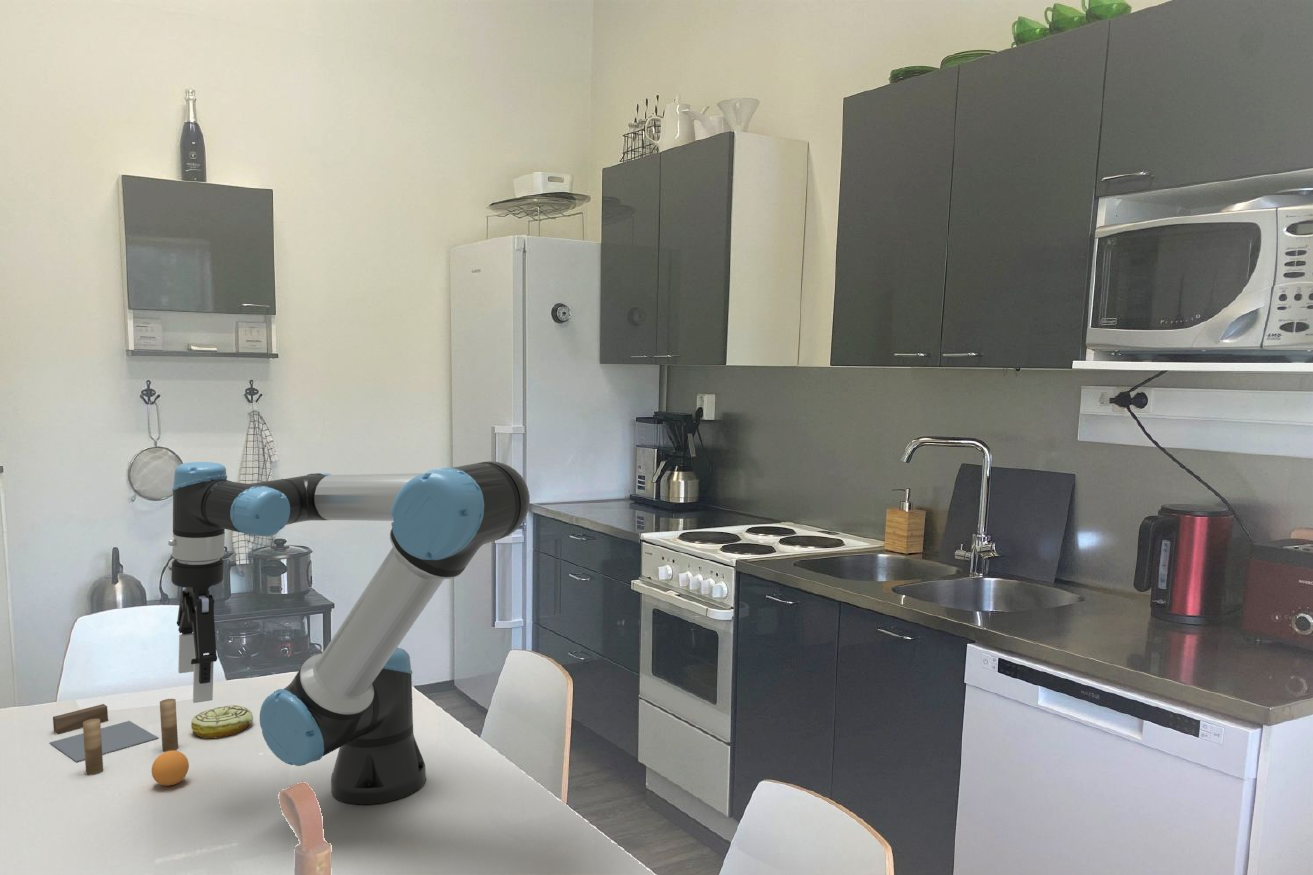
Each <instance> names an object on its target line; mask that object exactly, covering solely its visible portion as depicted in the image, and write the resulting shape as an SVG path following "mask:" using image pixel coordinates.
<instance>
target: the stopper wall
mask: <svg viewBox="0 0 1313 875" xmlns="http://www.w3.org/2000/svg"><path fill="white" fill-rule="evenodd" d="M89 719H100V724H102V723H104V722H105V723H106V722H109V712H108V705H107V704H104V703H102V704H98V705H94V706H91V707H86V708H82V709H79V710H75V711H72V712H71V711H70V712H67V713H64V714H60V715H59V714H58V715H55V716H52V724H53V725H52V726H53V732H54V733H55V734H56V735H59V734H60V735H61V734H64V733H68V732H71V731H75V730H78V729H83V722H84V721H86V720H89ZM101 722H102V723H101ZM67 731H68V732H67Z"/></svg>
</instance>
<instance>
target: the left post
mask: <svg viewBox="0 0 1313 875" xmlns="http://www.w3.org/2000/svg"><path fill="white" fill-rule="evenodd" d="M101 728H102V726H101V723H100V719H89V720H86V721H84V722H83V728H82V729H83V731H82V732H83V734H84V749H85V760H84V762H85V764H84V766H85V774H86V775H88V776H89V775H91V776H92V775H97V774H101V773H103V771H104V761H103V759H104V758H103V757H104V756H103V755H102V741H101Z"/></svg>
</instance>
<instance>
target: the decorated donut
mask: <svg viewBox="0 0 1313 875" xmlns="http://www.w3.org/2000/svg"><path fill="white" fill-rule="evenodd" d="M253 720H254V715H253V712H252V711H251V709H249V708H248V707H245V706H242V705H235V704H231V705H225V706H218V707H214V708H212V709H206V710H205V711H202V712H200V713H198V714H196V715H194V716H193V718H192V719H191V721H190V722H191V726H190V727H191V730H192V731H193V733H194V734H195V735H196V736H198V737H199V736H200V738H203V737H207V738H206V739H216V738H215V737H220V738H224V737H228V736H234V735H236V734H239V733H241V732H242V731H243V730H245V729H246V728H247V727H248V726H249V725H250V724H251V723H252V722H253Z"/></svg>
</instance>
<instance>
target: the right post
mask: <svg viewBox="0 0 1313 875" xmlns="http://www.w3.org/2000/svg"><path fill="white" fill-rule="evenodd" d="M159 714H160V727H161V728H160V729H161V732H160V733H161V745H162V747H161V748H162V752H167V751H172V750H173V751H177V748H178V749H179V737H178V734H179V733H178V720H177V702H176V698H166V699H162V700H160V701H159Z"/></svg>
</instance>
